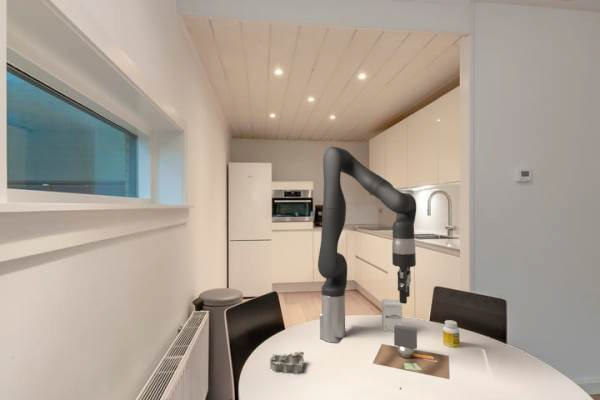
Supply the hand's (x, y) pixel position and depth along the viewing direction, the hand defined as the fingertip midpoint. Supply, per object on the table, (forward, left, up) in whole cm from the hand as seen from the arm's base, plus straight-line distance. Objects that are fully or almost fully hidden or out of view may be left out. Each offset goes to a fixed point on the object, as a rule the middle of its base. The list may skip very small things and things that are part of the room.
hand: (404, 299), depth 104 cm
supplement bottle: (+14, +16, -20) cm, 29 cm away
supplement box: (-8, +23, -20) cm, 32 cm away
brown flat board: (+2, -2, -20) cm, 20 cm away
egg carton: (-34, -21, -21) cm, 45 cm away
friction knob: (+2, 0, -18) cm, 18 cm away
